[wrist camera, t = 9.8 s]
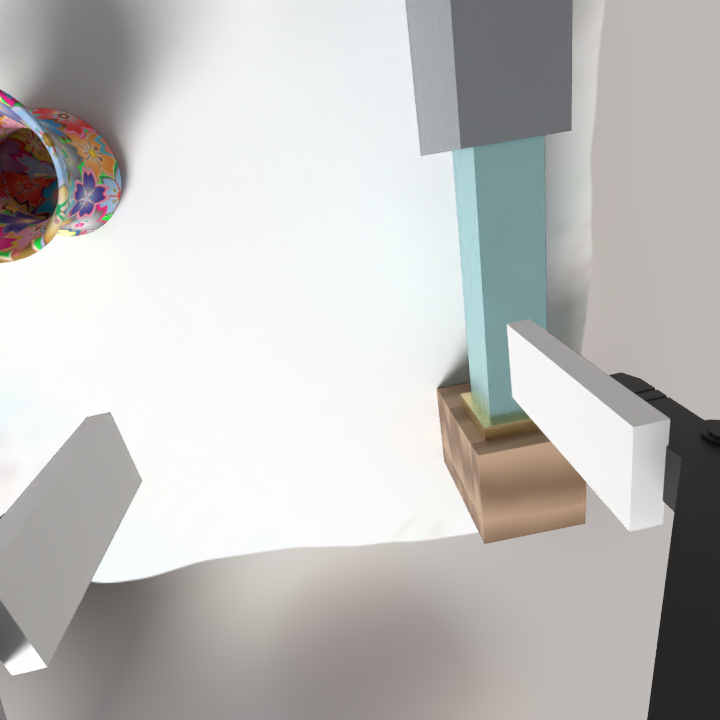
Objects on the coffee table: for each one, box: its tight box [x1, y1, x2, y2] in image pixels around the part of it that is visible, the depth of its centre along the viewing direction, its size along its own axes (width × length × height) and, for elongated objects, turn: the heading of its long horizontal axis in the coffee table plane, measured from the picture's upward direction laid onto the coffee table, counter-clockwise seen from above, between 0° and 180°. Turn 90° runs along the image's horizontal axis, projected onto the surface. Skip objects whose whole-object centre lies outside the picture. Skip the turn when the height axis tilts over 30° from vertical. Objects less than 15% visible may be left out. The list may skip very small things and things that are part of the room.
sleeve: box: [406, 0, 572, 156], centre depth 30 cm, size 16×7×10 cm, turn 9°
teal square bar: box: [452, 135, 547, 441], centre depth 35 cm, size 28×6×6 cm, turn 9°
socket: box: [437, 383, 586, 544], centre depth 41 cm, size 8×8×12 cm
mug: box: [0, 90, 121, 263], centre depth 30 cm, size 12×9×11 cm
